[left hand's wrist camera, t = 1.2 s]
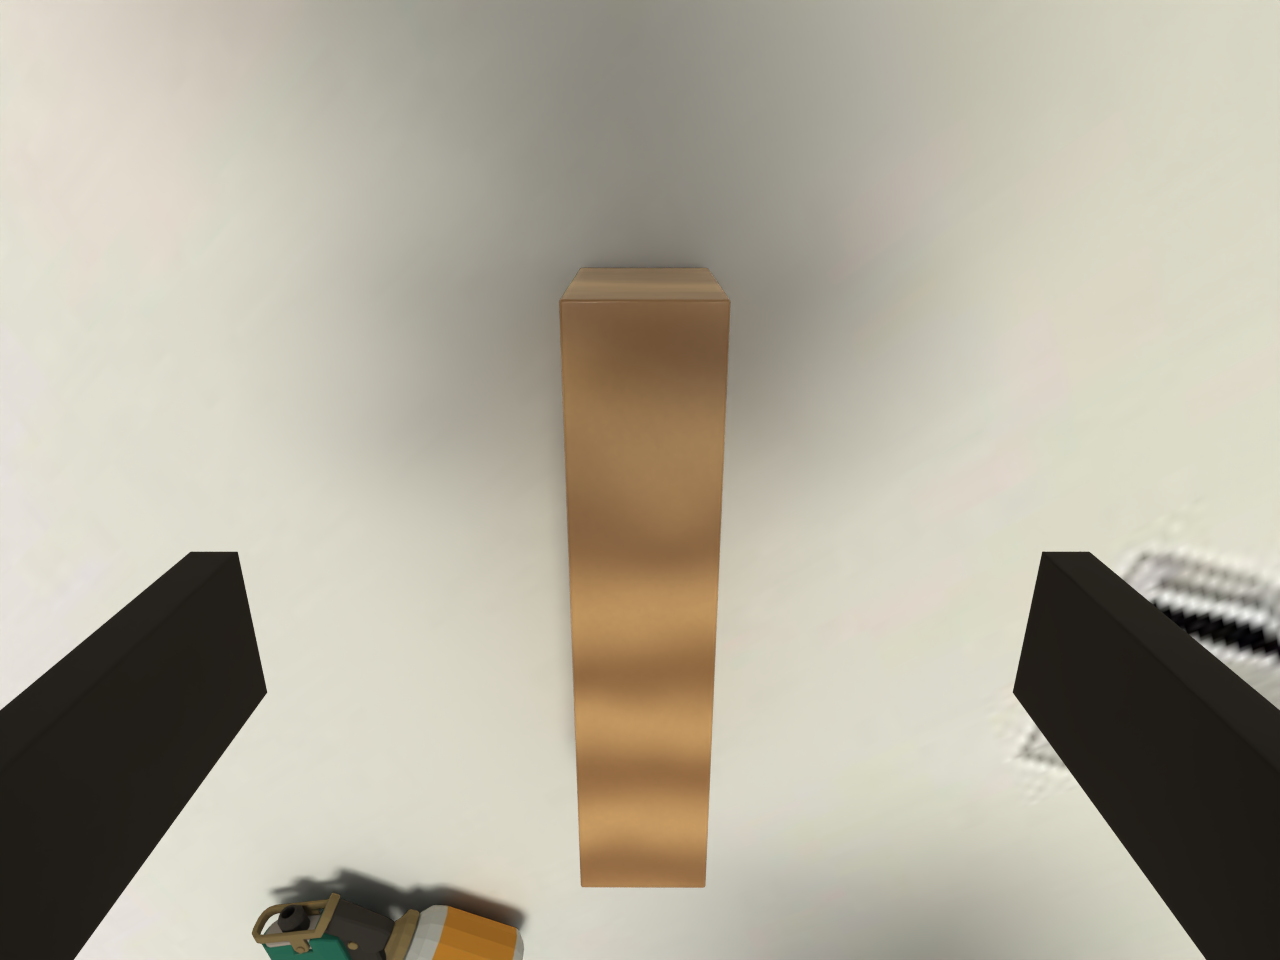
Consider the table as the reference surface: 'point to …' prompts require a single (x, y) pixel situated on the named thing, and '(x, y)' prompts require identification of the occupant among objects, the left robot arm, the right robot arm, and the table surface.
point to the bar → (644, 562)
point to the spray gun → (383, 934)
